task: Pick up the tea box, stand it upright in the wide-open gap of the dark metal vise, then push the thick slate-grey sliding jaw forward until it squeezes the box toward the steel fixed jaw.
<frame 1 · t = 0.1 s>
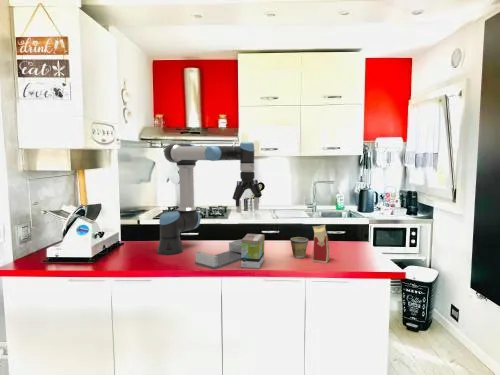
hand: (247, 211, 188), 28 cm above the table, tool pointing down, fingers open, 13 cm apart
paper coffee bag: (320, 260, 193), on the table
vise: (229, 257, 198), on the table
tea box: (253, 264, 187), on the table
ceramic cup: (299, 256, 201), on the table
free jaw: (243, 246, 207), point 4 cm above the table, slide at 0.0 cm
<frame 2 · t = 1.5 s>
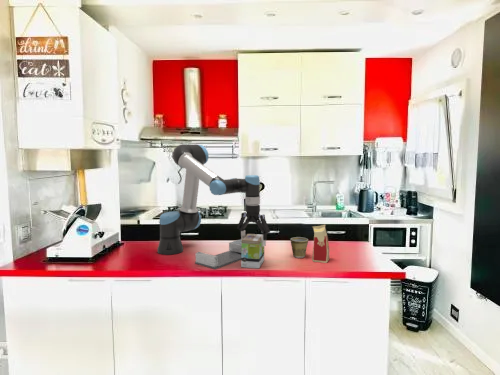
hand: (253, 244, 186), 11 cm above the table, tool pointing down, fingers open, 13 cm apart
nothing on the table moved.
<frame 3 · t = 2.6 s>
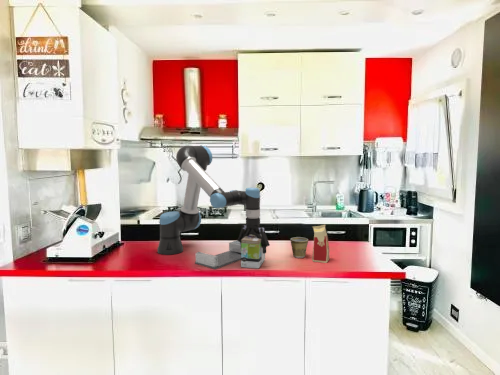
hand: (253, 257, 187), 4 cm above the table, tool pointing down, fingers closed on tea box, 12 cm apart
tea box: (253, 264, 187), on the table, touching gripper
everything else where it was.
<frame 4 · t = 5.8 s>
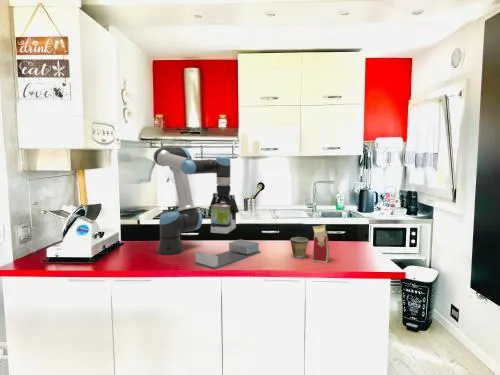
hand: (223, 223, 192), 20 cm above the table, tool pointing down, fingers closed on tea box, 12 cm apart
tea box: (223, 230, 193), point 16 cm above the table, touching gripper
everything else where it was.
when the fingers open (6 cm above the table, at t = 9.3 s): tea box drops 1 cm, resting on vise.
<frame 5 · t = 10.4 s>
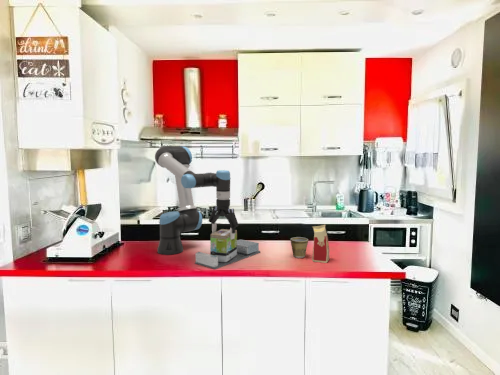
hand: (223, 236, 193), 13 cm above the table, tool pointing down, fingers open, 13 cm apart
tea box: (224, 258, 194), point 1 cm above the table, touching vise
everything else where it was.
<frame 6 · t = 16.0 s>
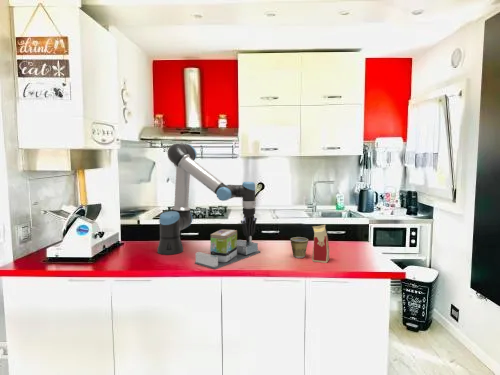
hand: (249, 246, 211), 3 cm above the table, tool pointing down, fingers closed
free jaw: (242, 246, 207), point 4 cm above the table, slide at 0.9 cm, touching gripper
everything else where it was.
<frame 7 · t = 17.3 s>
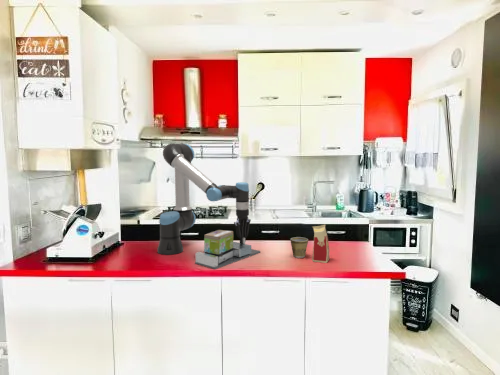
hand: (242, 248, 207), 3 cm above the table, tool pointing down, fingers closed
tea box: (219, 259, 192), point 1 cm above the table, touching free jaw, vise
free jaw: (236, 249, 202), point 4 cm above the table, slide at 6.9 cm, touching gripper, tea box
everything else where it was.
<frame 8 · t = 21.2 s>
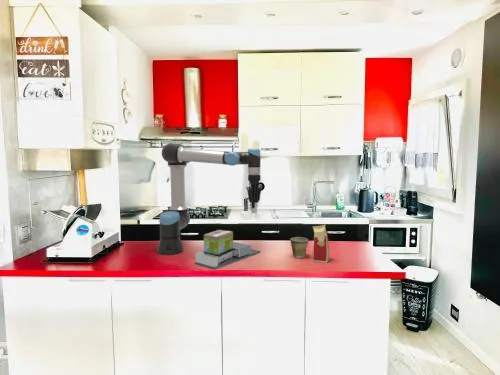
hand: (254, 213, 213), 22 cm above the table, tool pointing down, fingers closed
tea box: (218, 259, 192), point 1 cm above the table, touching vise
free jaw: (235, 249, 202), point 4 cm above the table, slide at 7.2 cm
everything else where it was.
at the end: free jaw slide at 7.2 cm; tea box inside the target area (1.1 cm from its centre), point 0.8 cm above the table; tea box tilted 0° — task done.
